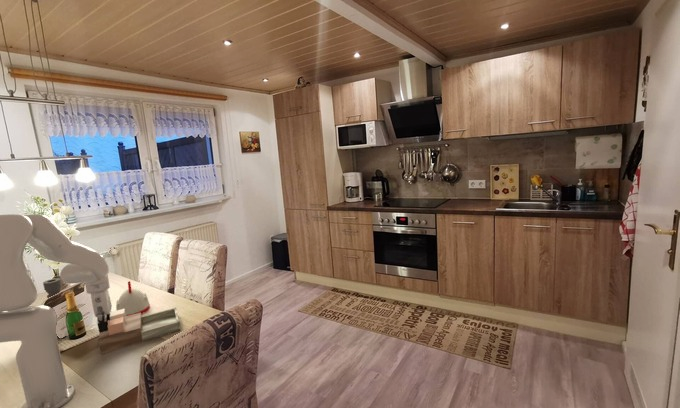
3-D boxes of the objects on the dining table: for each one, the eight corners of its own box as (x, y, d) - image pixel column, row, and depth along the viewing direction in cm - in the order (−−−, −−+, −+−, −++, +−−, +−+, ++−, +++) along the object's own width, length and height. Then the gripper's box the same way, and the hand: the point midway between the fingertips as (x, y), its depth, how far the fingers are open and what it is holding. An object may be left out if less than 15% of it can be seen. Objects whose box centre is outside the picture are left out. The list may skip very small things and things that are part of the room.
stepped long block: (180, 330, 140) (178, 317, 139) (100, 353, 126) (97, 339, 125) (177, 315, 153) (175, 303, 152) (105, 335, 139) (102, 322, 138)
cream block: (125, 321, 137) (124, 313, 137) (111, 325, 135) (109, 316, 134) (126, 317, 142) (124, 308, 141) (112, 320, 139) (110, 312, 138)
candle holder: (50, 340, 138) (38, 284, 134) (59, 332, 144) (47, 279, 140) (68, 337, 139) (56, 282, 135) (75, 329, 145) (64, 277, 141)
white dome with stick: (149, 302, 170) (144, 275, 167) (150, 312, 158) (146, 283, 156) (117, 310, 162) (112, 282, 160) (116, 321, 151) (111, 291, 149)
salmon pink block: (124, 331, 130) (122, 322, 129) (109, 335, 127) (107, 326, 127) (125, 325, 134) (123, 316, 133) (110, 329, 131) (108, 320, 131)
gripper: (107, 291, 124) (115, 332, 127) (111, 277, 139) (117, 314, 141) (82, 296, 120) (91, 338, 123) (89, 282, 135) (96, 320, 138)
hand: (105, 325), depth 132 cm, fingers open, 9 cm apart
